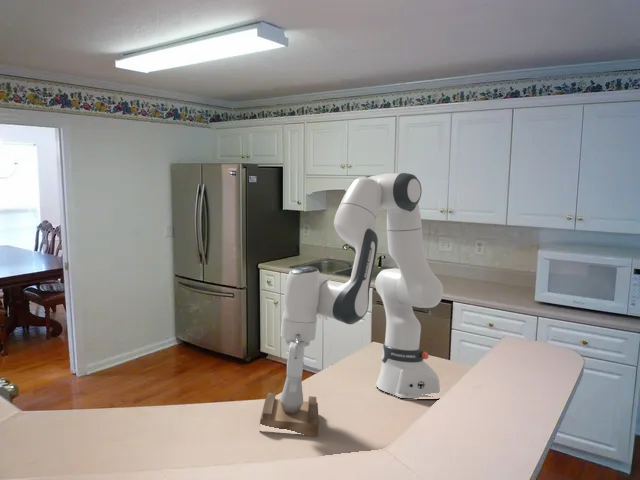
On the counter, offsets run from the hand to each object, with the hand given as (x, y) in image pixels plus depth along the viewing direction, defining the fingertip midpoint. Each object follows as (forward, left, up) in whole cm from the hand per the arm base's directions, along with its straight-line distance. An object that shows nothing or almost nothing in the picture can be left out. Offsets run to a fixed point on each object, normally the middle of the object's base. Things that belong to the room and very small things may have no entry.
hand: (293, 384), depth 118 cm
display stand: (0, 0, -10) cm, 10 cm away
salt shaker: (0, 0, -7) cm, 7 cm away
